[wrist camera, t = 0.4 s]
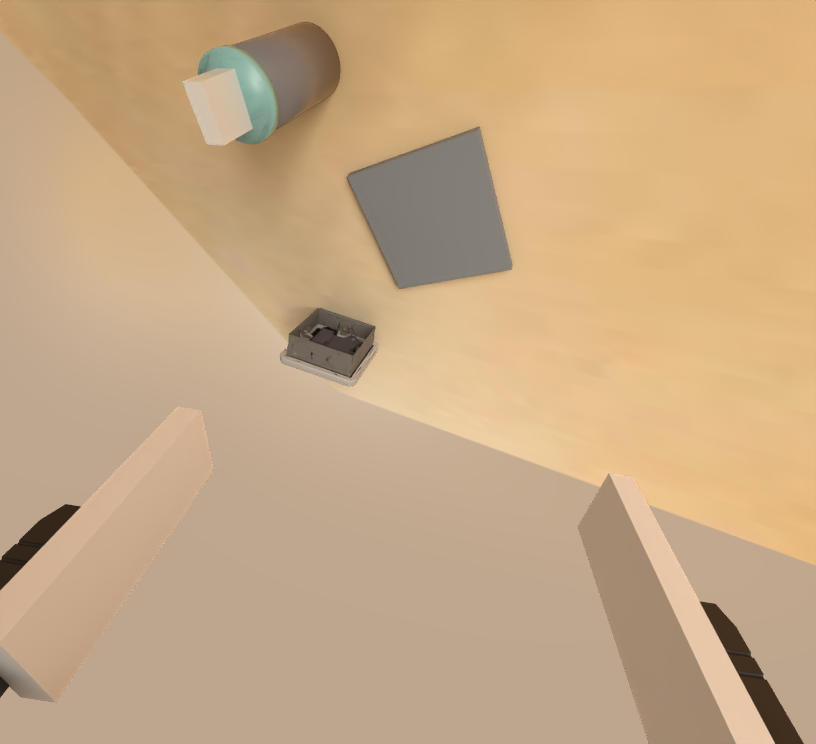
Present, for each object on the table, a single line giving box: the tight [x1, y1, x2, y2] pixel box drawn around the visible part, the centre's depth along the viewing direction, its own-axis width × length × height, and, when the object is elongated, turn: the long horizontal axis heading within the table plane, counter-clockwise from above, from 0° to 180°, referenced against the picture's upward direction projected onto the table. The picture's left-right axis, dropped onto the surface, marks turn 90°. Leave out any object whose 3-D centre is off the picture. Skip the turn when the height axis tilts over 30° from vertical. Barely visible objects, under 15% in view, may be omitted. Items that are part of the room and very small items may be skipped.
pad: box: [347, 127, 512, 289], centre depth 35 cm, size 12×12×1 cm
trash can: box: [182, 22, 340, 146], centre depth 25 cm, size 5×5×13 cm
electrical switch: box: [280, 308, 378, 386], centre depth 47 cm, size 9×5×9 cm, turn 81°
